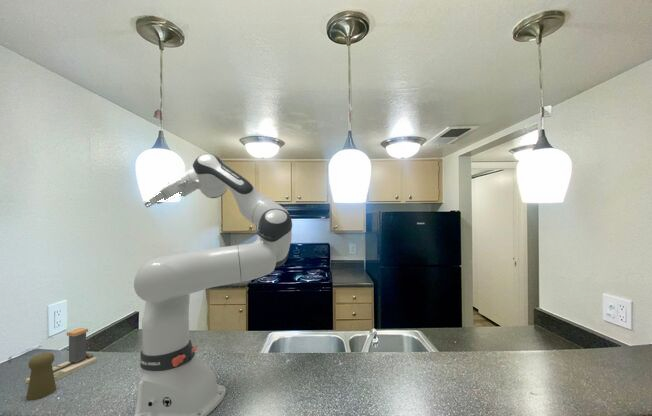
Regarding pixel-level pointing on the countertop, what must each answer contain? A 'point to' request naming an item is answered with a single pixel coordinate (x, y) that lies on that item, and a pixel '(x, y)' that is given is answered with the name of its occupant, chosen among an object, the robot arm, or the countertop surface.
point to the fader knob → (77, 344)
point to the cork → (41, 377)
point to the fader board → (70, 367)
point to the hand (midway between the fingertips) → (148, 204)
